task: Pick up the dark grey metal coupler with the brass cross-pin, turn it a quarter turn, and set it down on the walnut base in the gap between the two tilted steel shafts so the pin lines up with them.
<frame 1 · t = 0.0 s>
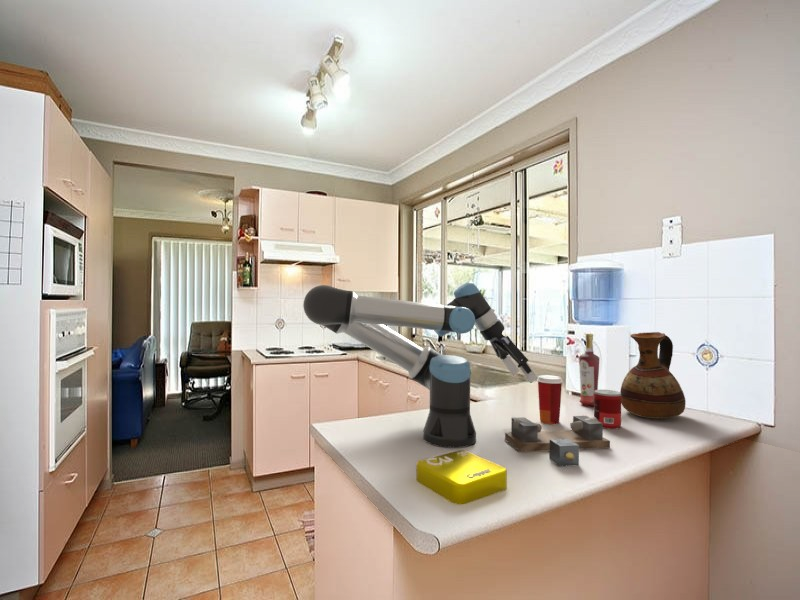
hand: (524, 376, 137), 15 cm above the counter, tool tilted 35°, fingers open, 13 cm apart
canned food: (607, 426, 135), on the counter
element tile: (460, 486, 90), on the counter
ceramic pitcher: (651, 416, 148), on the counter
coffee cup: (549, 422, 138), on the counter
coupler: (563, 462, 103), on the counter
shaft stand: (556, 443, 116), on the counter
liquor: (588, 405, 162), on the counter
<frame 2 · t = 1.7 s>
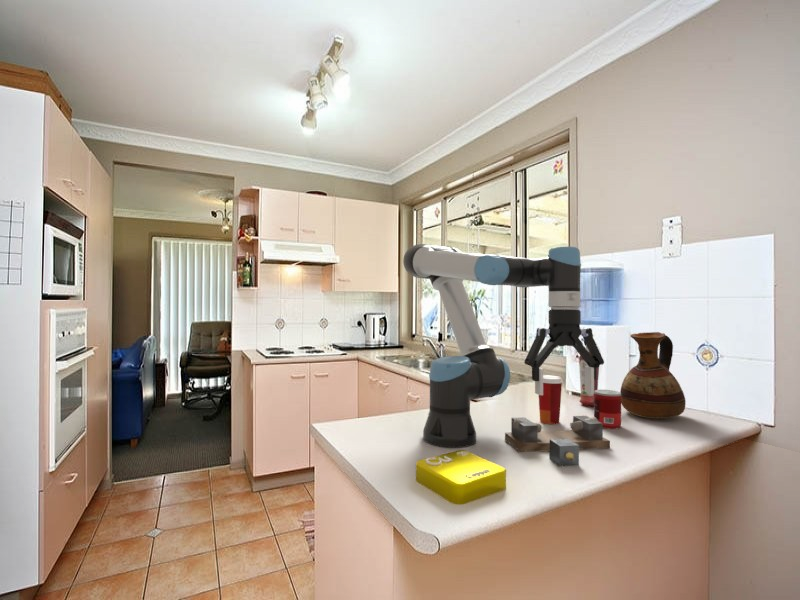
hand: (564, 393, 103), 17 cm above the counter, tool pointing down, fingers open, 13 cm apart
nothing on the counter moved.
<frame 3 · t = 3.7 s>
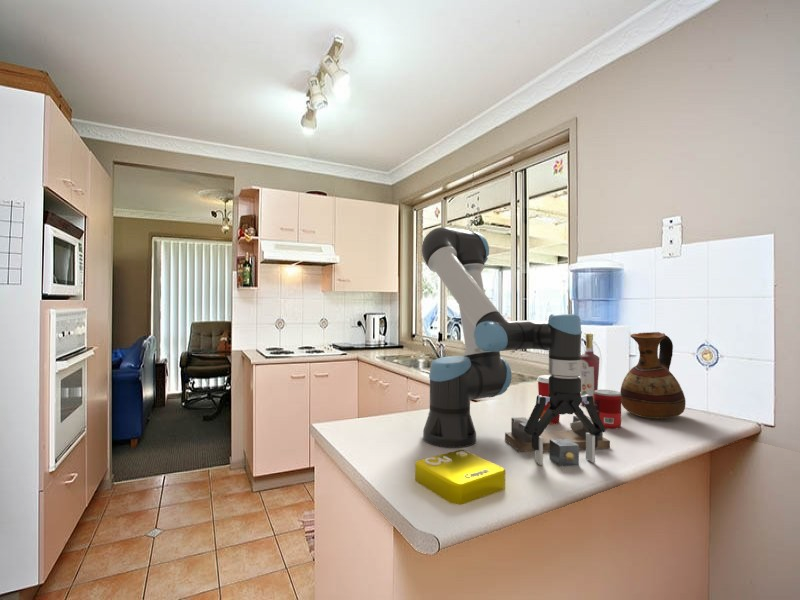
hand: (564, 461, 102), 0 cm above the counter, tool pointing down, fingers open, 13 cm apart
nothing on the counter moved.
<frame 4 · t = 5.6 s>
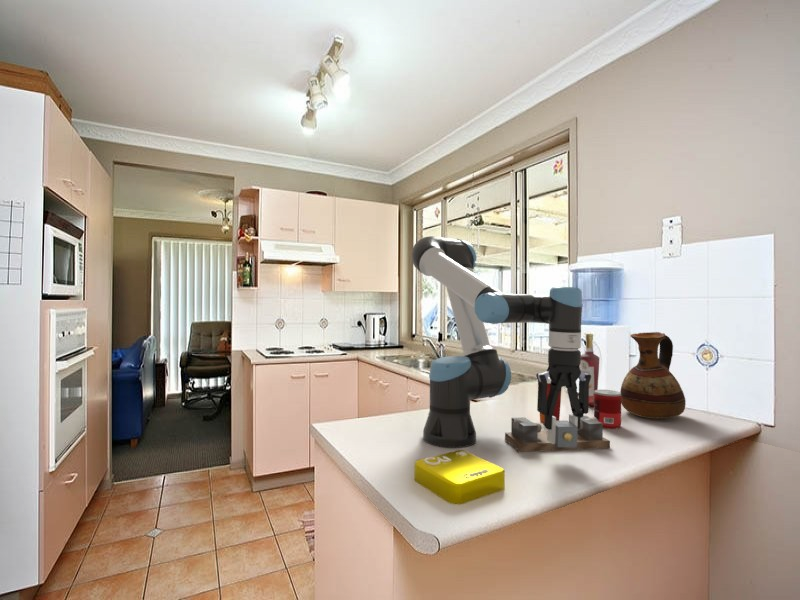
hand: (561, 441, 103), 5 cm above the counter, tool pointing down, fingers closed on coupler, 5 cm apart
coupler: (562, 443, 103), point 4 cm above the counter, touching gripper
everything else where it was.
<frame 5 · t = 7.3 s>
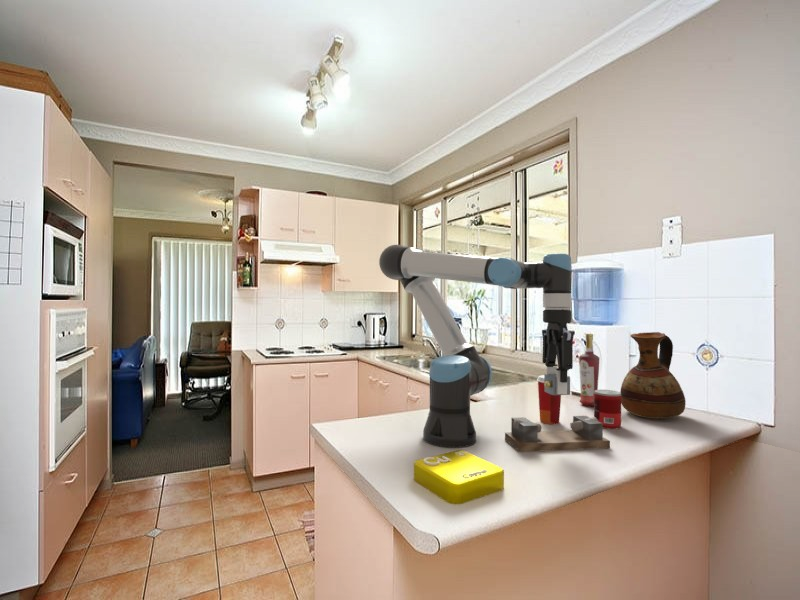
hand: (556, 391, 116), 15 cm above the counter, tool pointing down, fingers closed on coupler, 5 cm apart
coupler: (557, 393, 116), point 14 cm above the counter, touching gripper
everything else where it was.
when the fingers open (2 cm above the counter, at t = 9.2 s): coupler stays where it is, resting on shaft stand.
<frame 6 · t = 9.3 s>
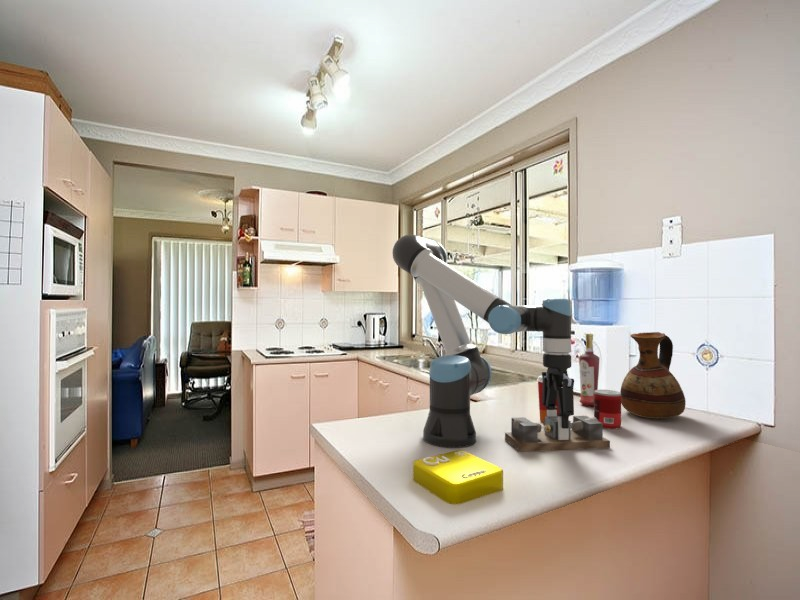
hand: (557, 435, 116), 2 cm above the counter, tool pointing down, fingers open, 5 cm apart
coupler: (557, 436, 116), point 2 cm above the counter, touching gripper, shaft stand
everything else where it was.
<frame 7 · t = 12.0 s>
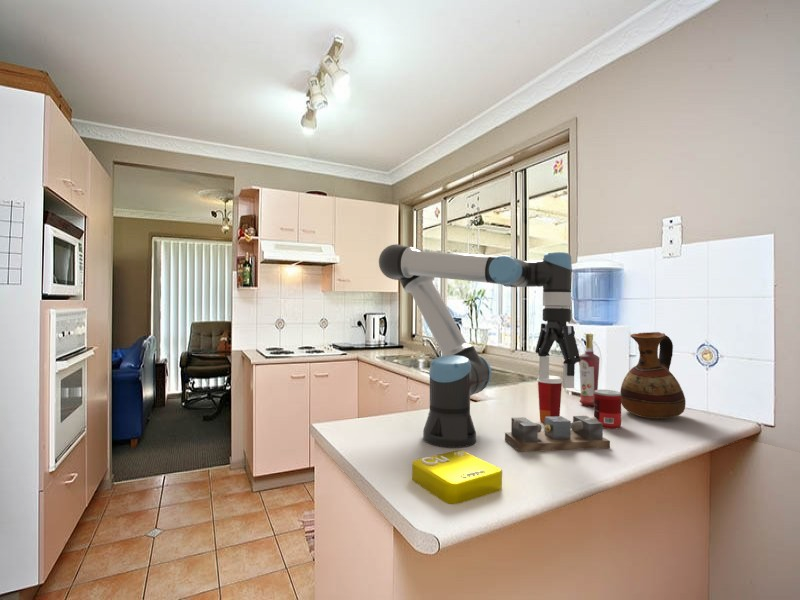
hand: (555, 382, 117), 17 cm above the counter, tool pointing down, fingers open, 13 cm apart
coupler: (557, 436, 116), point 2 cm above the counter, touching shaft stand
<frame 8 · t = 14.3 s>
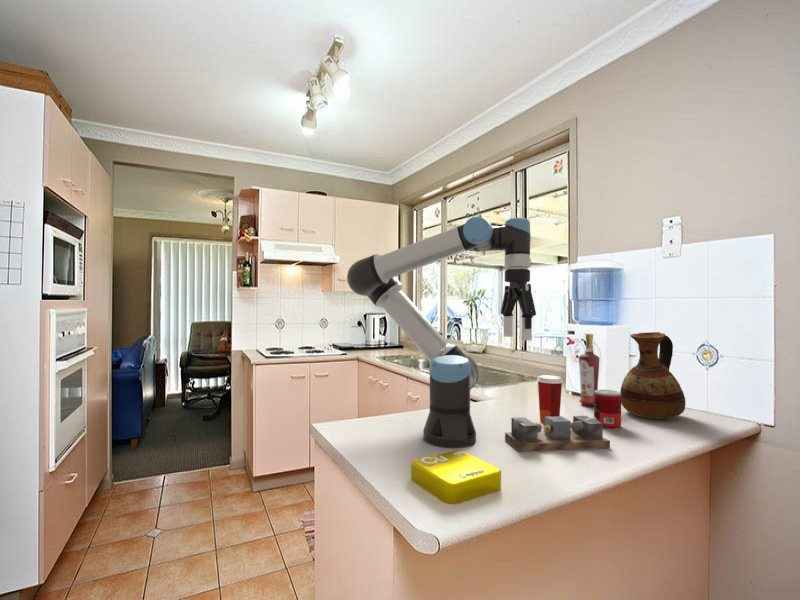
hand: (516, 338, 127), 29 cm above the counter, tool pointing down, fingers open, 13 cm apart
at the end: coupler 0.4 cm off-centre on the shaft stand, point 2.0 cm above the shaft stand's base; coupler tilted 0°; the gripper is holding nothing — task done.
